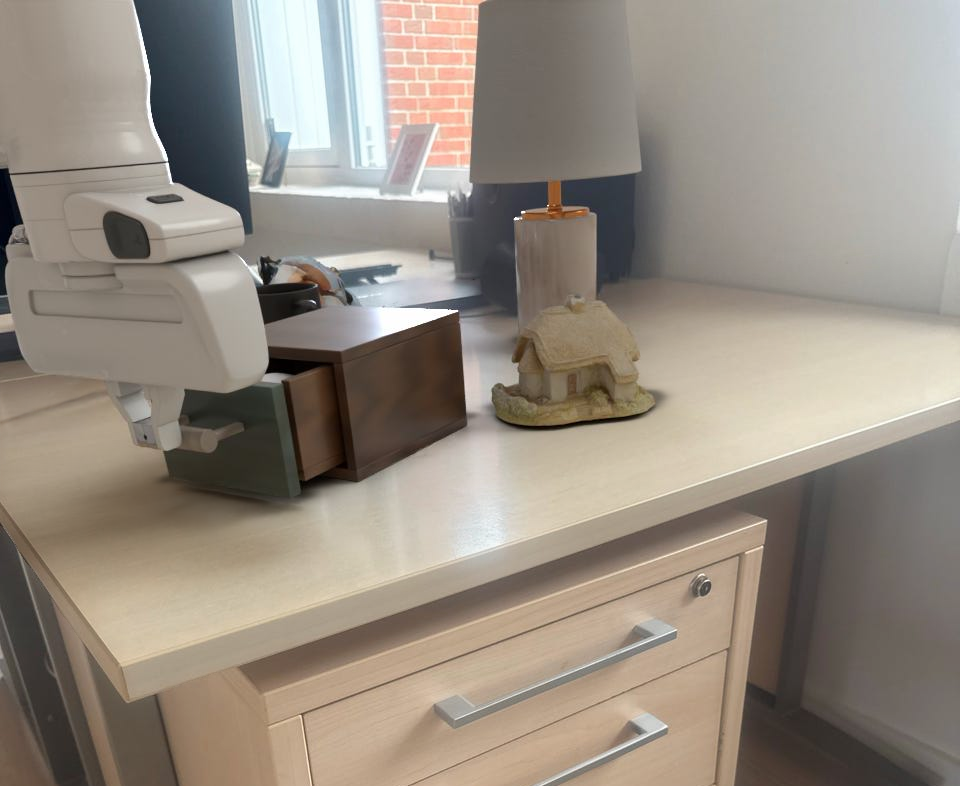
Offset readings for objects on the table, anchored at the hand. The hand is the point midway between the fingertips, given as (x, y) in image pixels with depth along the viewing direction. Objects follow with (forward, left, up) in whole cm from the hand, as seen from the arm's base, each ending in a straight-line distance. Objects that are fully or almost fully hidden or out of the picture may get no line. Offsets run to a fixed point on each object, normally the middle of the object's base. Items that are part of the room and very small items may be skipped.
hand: (158, 446), depth 61 cm
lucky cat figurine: (-29, +51, -6) cm, 59 cm away
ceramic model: (+14, +35, -6) cm, 38 cm away
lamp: (-1, +61, -6) cm, 61 cm away
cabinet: (0, +20, -6) cm, 21 cm away
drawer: (0, +10, -5) cm, 11 cm away
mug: (-20, +36, -6) cm, 42 cm away
